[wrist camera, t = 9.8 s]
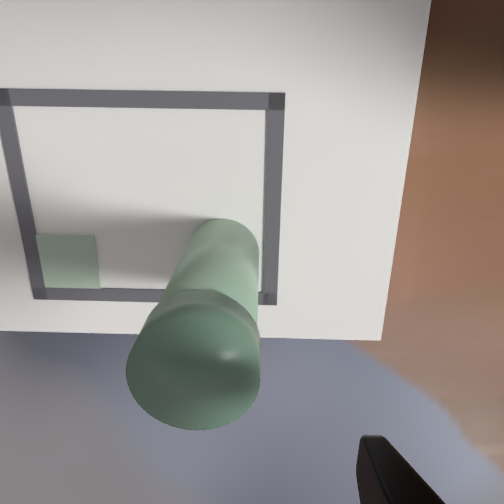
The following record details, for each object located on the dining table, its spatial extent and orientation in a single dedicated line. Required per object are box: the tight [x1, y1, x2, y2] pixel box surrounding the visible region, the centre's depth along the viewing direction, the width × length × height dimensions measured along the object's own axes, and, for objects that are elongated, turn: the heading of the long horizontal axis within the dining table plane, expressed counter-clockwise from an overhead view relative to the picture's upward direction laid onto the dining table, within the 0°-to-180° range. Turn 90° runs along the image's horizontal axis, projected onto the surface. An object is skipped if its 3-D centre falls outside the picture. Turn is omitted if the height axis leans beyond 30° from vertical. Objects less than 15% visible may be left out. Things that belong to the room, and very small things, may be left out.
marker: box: [126, 219, 261, 430], centre depth 14 cm, size 3×3×8 cm
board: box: [0, 0, 431, 341], centre depth 15 cm, size 20×20×2 cm
